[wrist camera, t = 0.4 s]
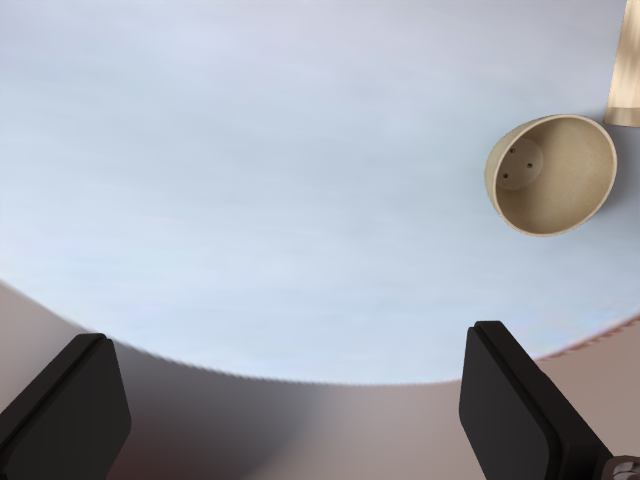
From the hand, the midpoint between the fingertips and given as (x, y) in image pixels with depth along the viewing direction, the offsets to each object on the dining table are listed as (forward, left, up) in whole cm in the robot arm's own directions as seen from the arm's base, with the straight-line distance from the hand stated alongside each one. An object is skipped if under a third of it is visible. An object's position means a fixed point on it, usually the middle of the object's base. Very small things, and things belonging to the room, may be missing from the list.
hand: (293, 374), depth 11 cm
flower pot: (0, +20, -31) cm, 37 cm away
